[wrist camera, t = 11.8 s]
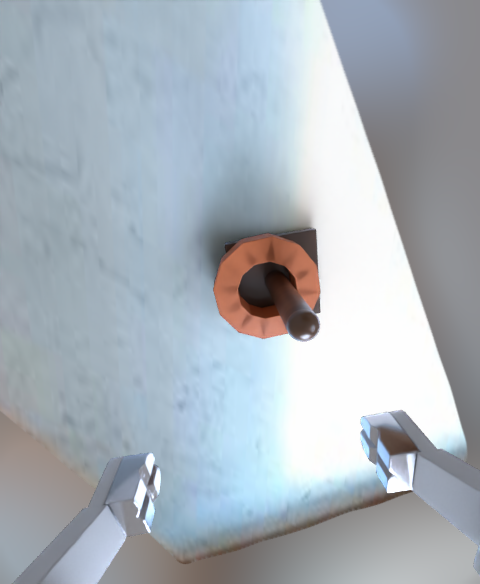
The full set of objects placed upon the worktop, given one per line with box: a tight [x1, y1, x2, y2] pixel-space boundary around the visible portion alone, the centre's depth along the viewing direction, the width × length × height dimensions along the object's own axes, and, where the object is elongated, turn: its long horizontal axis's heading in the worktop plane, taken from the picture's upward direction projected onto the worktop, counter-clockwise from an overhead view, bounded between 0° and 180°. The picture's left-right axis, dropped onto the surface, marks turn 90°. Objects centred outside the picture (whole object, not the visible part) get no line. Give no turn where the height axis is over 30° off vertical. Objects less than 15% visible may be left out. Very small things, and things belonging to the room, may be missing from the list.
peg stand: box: [225, 228, 320, 342], centre depth 23 cm, size 10×10×14 cm
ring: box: [213, 233, 320, 339], centre depth 27 cm, size 11×11×3 cm
